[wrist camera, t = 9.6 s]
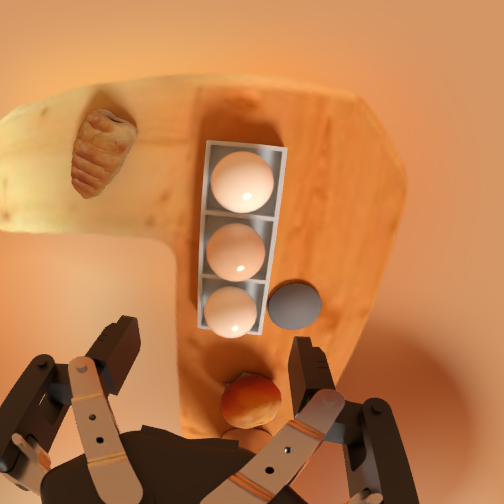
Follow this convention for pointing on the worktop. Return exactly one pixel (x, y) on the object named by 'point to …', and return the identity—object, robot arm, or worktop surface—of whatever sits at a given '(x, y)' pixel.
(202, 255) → the carton
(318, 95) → the worktop surface
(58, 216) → the worktop surface
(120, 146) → the pastry
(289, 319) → the mat
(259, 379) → the fruit
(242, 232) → the pale pink ball
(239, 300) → the egg
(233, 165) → the egg
